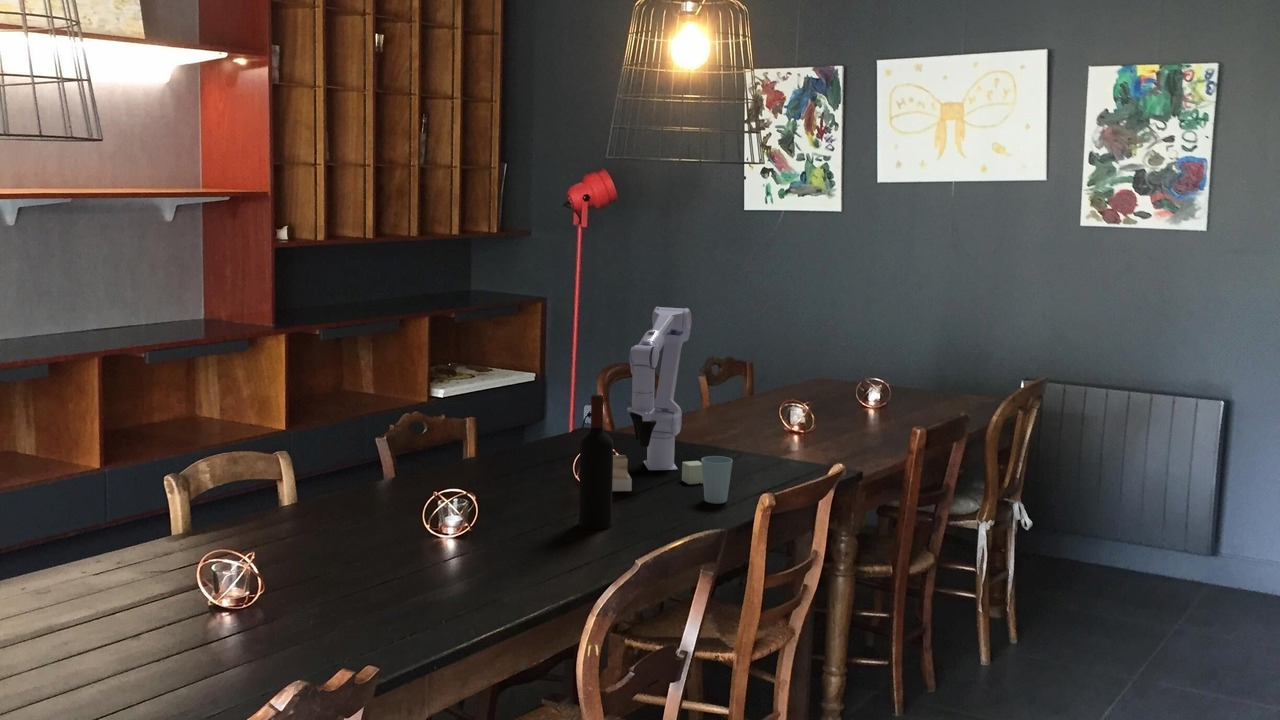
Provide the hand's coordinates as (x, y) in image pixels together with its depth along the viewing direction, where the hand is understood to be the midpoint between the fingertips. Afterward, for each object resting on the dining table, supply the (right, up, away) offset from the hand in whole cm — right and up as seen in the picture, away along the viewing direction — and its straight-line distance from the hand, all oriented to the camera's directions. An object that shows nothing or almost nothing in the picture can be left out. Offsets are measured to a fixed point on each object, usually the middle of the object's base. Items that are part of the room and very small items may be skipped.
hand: (642, 442), depth 319 cm
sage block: (+13, -10, +3) cm, 17 cm away
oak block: (-6, -8, -6) cm, 12 cm away
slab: (-7, -11, -5) cm, 14 cm away
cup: (+18, -13, -16) cm, 27 cm away
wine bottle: (-11, -16, -39) cm, 44 cm away
